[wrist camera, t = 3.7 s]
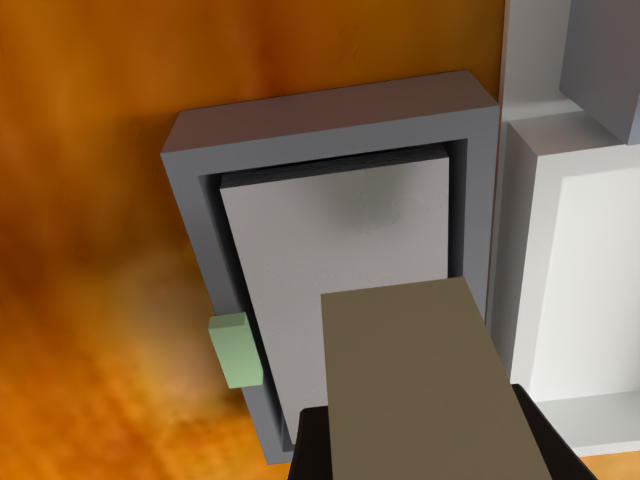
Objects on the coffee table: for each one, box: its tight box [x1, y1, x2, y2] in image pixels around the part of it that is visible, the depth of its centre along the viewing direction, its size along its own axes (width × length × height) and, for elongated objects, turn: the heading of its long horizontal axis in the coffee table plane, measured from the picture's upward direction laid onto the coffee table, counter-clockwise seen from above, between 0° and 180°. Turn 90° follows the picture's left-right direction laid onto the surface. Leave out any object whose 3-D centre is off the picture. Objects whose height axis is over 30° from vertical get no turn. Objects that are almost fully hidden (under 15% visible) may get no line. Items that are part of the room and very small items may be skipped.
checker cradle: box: [160, 69, 500, 465], centre depth 19 cm, size 9×15×4 cm, turn 8°
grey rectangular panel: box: [220, 145, 449, 444], centre depth 18 cm, size 6×12×1 cm, turn 8°
